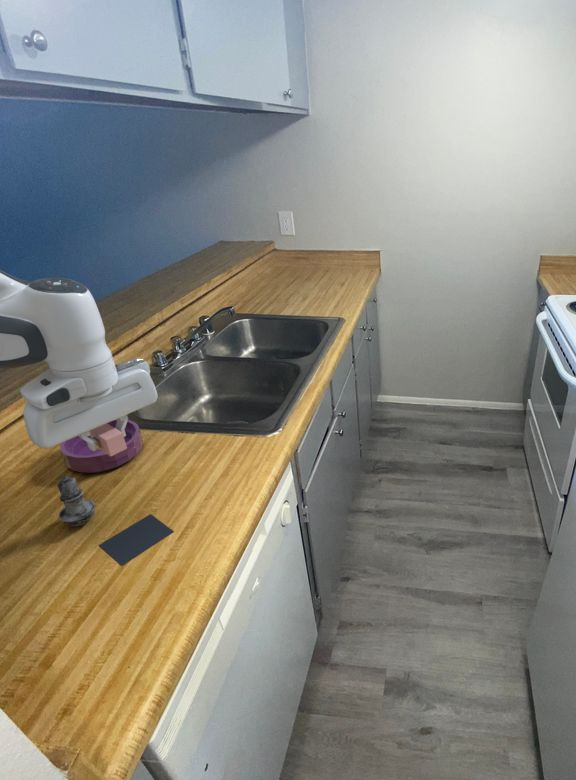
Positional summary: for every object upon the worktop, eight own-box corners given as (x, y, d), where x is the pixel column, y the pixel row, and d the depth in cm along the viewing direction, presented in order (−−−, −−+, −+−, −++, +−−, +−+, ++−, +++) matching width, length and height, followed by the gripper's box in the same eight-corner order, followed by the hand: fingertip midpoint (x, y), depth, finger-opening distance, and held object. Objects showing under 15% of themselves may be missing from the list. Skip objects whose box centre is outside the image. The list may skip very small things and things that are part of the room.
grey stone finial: (106, 521, 92) (89, 472, 86) (74, 540, 87) (55, 490, 82) (89, 509, 95) (72, 461, 89) (57, 527, 90) (37, 478, 84)
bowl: (87, 485, 101) (81, 466, 99) (53, 458, 108) (47, 440, 106) (157, 450, 112) (152, 433, 110) (122, 428, 120) (117, 411, 118)
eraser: (127, 448, 86) (122, 432, 84) (110, 456, 83) (105, 440, 82) (109, 437, 88) (104, 421, 87) (93, 445, 86) (87, 429, 85)
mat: (122, 568, 82) (121, 566, 82) (98, 547, 86) (98, 545, 86) (175, 533, 90) (174, 531, 90) (151, 515, 94) (150, 513, 93)
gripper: (136, 350, 88) (152, 412, 95) (7, 393, 73) (37, 464, 80) (155, 359, 85) (171, 423, 92) (26, 405, 70) (55, 478, 77)
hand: (108, 442), depth 86 cm, fingers closed on eraser, 3 cm apart
